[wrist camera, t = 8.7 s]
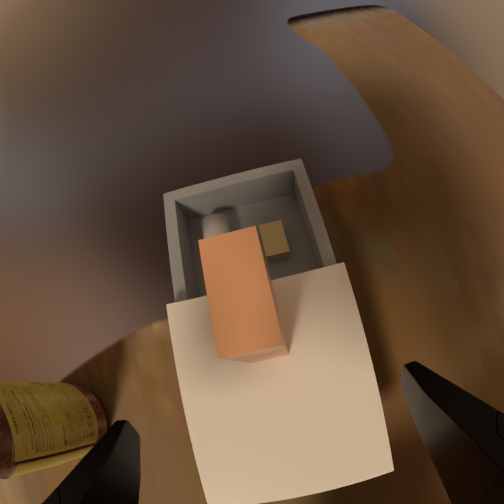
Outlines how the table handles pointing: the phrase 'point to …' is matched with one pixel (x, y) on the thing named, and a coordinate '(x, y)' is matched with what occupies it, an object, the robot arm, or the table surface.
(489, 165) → the table surface
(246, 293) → the lid
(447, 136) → the table surface
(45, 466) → the sauce bottle
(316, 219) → the parts tub
